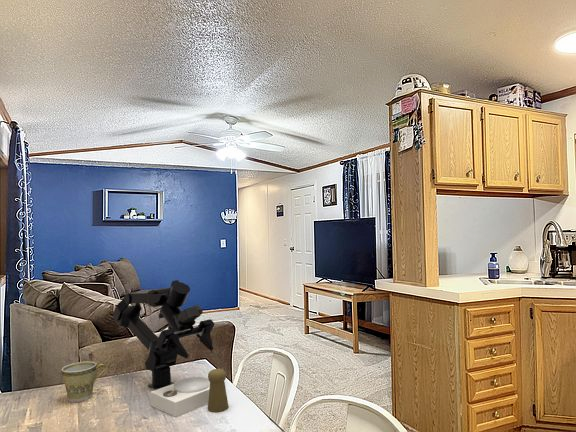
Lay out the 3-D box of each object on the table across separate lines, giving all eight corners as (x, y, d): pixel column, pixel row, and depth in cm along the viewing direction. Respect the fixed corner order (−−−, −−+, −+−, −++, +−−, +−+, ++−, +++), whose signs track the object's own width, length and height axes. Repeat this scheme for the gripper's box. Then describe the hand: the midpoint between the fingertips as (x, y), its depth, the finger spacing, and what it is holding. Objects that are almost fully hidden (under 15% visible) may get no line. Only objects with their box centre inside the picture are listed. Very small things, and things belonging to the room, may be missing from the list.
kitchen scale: (150, 405, 131) (150, 389, 131) (194, 388, 143) (194, 374, 143) (175, 417, 122) (175, 399, 122) (220, 398, 134) (219, 382, 134)
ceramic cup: (67, 407, 131) (66, 374, 132) (58, 398, 139) (57, 366, 139) (111, 395, 140) (110, 363, 140) (101, 387, 148) (100, 357, 148)
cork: (224, 413, 123) (223, 373, 124) (204, 412, 125) (203, 373, 125) (231, 404, 129) (230, 366, 130) (212, 403, 131) (210, 366, 131)
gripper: (157, 303, 130) (183, 341, 122) (207, 294, 144) (233, 327, 136) (146, 330, 135) (170, 369, 126) (196, 318, 149) (220, 352, 140)
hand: (200, 353), depth 132 cm, fingers open, 9 cm apart
